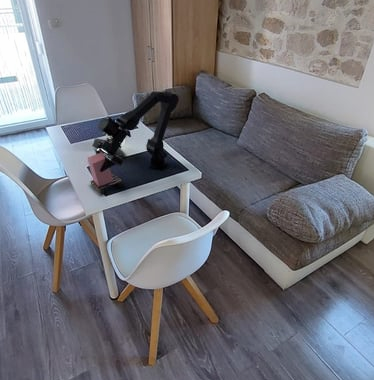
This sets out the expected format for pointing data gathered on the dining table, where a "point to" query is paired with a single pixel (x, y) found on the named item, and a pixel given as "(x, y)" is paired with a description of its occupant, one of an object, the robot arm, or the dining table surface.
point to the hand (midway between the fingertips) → (97, 169)
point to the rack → (101, 188)
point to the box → (95, 167)
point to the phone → (119, 153)
